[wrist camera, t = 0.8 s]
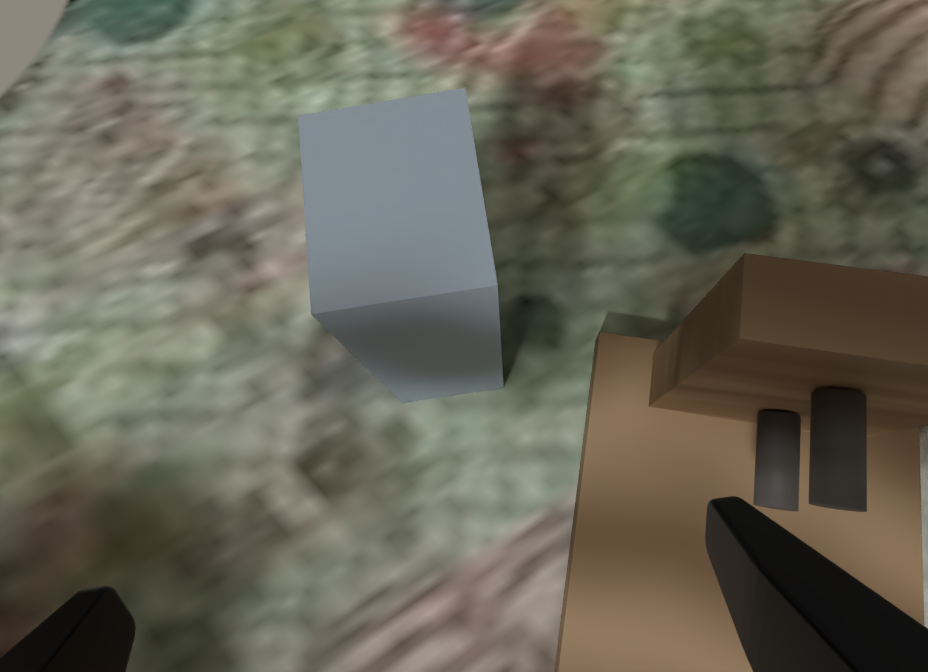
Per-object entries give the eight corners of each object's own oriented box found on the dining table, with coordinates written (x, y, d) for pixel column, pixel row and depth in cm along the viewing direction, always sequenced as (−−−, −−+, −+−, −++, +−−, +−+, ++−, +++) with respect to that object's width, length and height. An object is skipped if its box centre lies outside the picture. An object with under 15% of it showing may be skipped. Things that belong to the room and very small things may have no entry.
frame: (904, 906, 18) (1371, 1378, 8) (536, 815, 19) (563, 1127, 9) (896, 385, 22) (1196, 288, 12) (595, 340, 23) (655, 221, 14)
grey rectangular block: (503, 387, 23) (497, 285, 12) (402, 402, 23) (311, 313, 13) (484, 269, 24) (465, 87, 14) (389, 284, 25) (298, 115, 14)
